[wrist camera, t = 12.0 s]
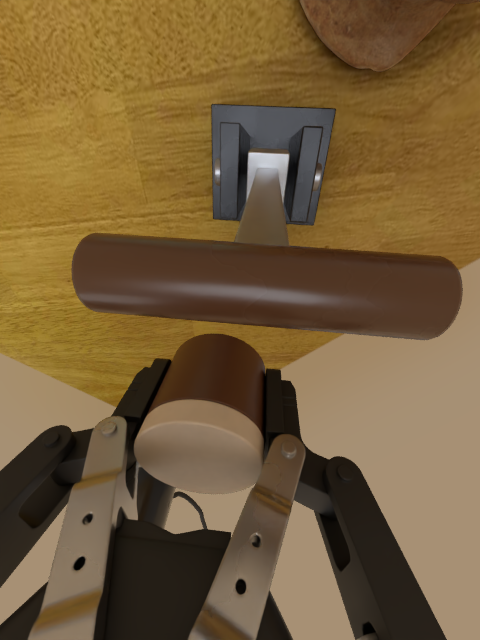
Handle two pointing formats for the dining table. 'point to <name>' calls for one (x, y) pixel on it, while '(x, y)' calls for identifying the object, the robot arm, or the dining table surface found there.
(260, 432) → the brown lidded jar
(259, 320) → the metal lever handle
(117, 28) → the dining table surface
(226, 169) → the black angular piece
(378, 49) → the stone cup
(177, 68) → the dining table surface
